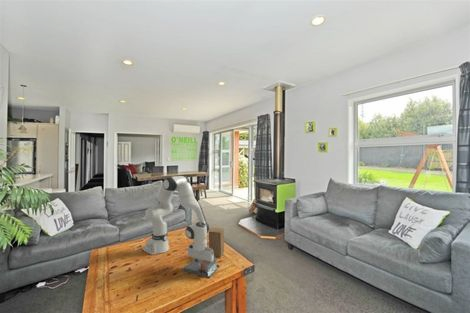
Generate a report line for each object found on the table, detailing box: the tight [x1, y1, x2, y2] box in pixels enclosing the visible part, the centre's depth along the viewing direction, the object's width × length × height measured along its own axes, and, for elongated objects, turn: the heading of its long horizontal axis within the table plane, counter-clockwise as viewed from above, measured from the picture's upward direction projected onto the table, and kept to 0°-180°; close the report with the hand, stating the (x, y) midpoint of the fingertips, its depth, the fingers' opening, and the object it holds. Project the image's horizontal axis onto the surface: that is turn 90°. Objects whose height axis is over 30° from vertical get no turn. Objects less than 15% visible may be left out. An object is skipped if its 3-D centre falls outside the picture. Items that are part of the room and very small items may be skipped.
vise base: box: [182, 257, 220, 279], centre depth 146 cm, size 22×14×8 cm, turn 67°
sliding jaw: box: [198, 260, 203, 272], centre depth 145 cm, size 2×11×6 cm, turn 157°
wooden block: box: [208, 226, 225, 258], centre depth 167 cm, size 10×10×20 cm
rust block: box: [202, 261, 208, 271], centre depth 144 cm, size 4×7×6 cm, turn 157°
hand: (200, 264), depth 146 cm, fingers closed
